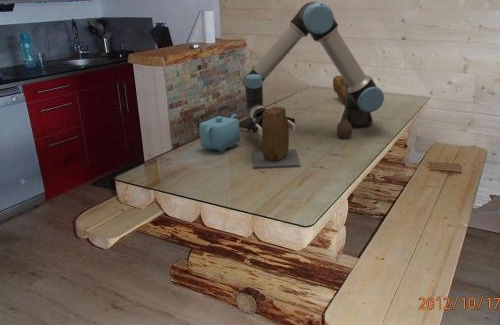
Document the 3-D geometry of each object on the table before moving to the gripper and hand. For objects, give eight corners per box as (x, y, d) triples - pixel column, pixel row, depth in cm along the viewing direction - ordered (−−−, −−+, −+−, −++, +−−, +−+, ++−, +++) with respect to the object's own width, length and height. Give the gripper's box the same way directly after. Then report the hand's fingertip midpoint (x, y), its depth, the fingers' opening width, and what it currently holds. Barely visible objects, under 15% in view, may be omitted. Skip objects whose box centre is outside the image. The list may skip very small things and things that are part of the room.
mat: (295, 150, 188) (295, 148, 187) (300, 166, 171) (300, 164, 171) (252, 152, 188) (252, 150, 188) (253, 168, 171) (253, 166, 171)
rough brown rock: (327, 106, 258) (328, 80, 251) (333, 97, 271) (334, 72, 265) (368, 109, 249) (370, 83, 243) (372, 100, 263) (374, 75, 256)
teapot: (218, 156, 185) (215, 124, 180) (197, 152, 191) (194, 120, 186) (247, 141, 202) (246, 111, 197) (227, 137, 208) (225, 108, 203)
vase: (352, 135, 203) (353, 117, 200) (350, 140, 197) (351, 121, 194) (337, 134, 205) (338, 116, 202) (335, 139, 199) (335, 120, 196)
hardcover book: (232, 130, 220) (232, 125, 219) (254, 118, 239) (254, 114, 238) (261, 134, 213) (261, 129, 212) (282, 121, 231) (282, 116, 231)
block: (276, 163, 173) (275, 112, 166) (260, 159, 178) (259, 110, 170) (291, 154, 181) (291, 106, 174) (276, 151, 186) (275, 104, 178)
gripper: (288, 121, 195) (307, 135, 176) (233, 127, 189) (247, 143, 170) (288, 104, 192) (307, 116, 173) (232, 110, 186) (246, 124, 167)
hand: (277, 129), depth 172 cm, fingers open, 12 cm apart
